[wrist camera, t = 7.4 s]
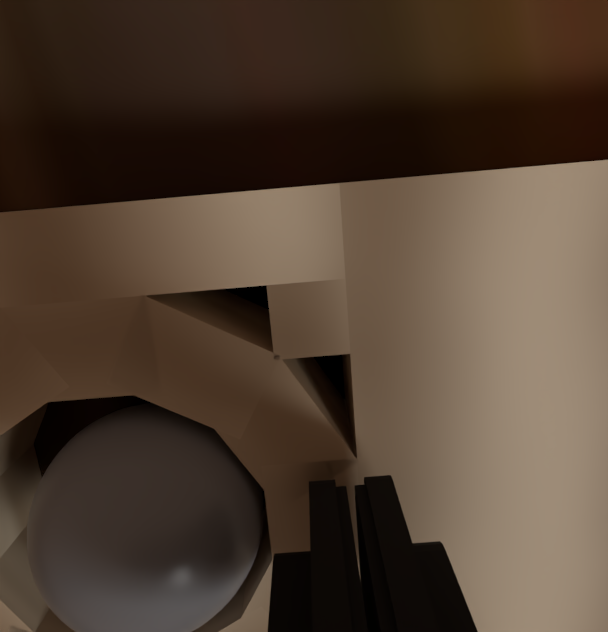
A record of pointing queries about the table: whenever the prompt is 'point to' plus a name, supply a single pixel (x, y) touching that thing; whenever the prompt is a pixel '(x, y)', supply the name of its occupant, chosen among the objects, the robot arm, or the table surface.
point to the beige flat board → (358, 366)
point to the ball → (143, 524)
